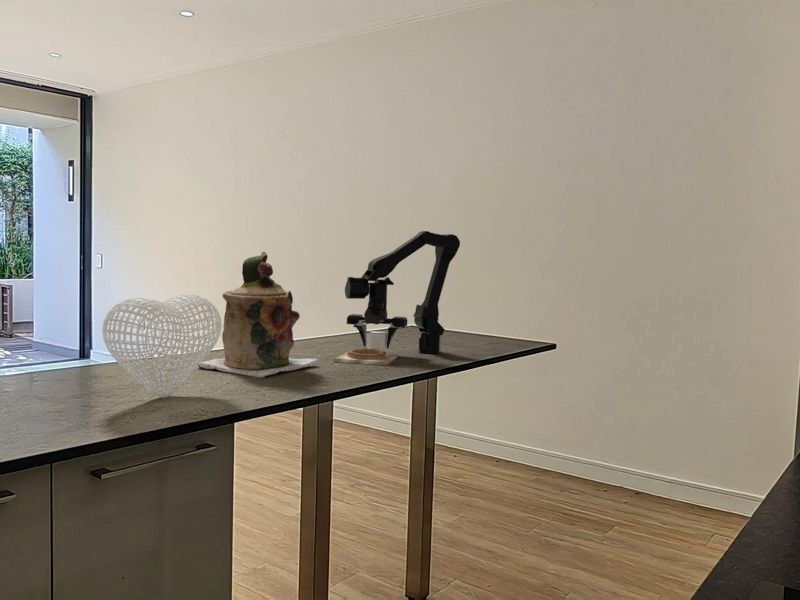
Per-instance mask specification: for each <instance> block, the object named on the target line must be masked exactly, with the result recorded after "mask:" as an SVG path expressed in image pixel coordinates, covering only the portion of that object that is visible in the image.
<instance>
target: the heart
mask: <svg viewBox="0 0 800 600" xmlns="http://www.w3.org/2000/svg"><path fill="white" fill-rule="evenodd" d="M192 306H193V307H192ZM199 307H200V309H199ZM130 308H131V309H130ZM186 308H187V309H186ZM136 309H137V311H135V310H136ZM181 310H182V311H181ZM146 311H147V312H146ZM121 313H122V315H120V314H121ZM126 314H127V316H125V315H126ZM190 314H191V315H190ZM201 314H202V316H203V318H202V316H201ZM132 315H134V317H132ZM185 315H186V316H185ZM196 316H198V318H196ZM138 317H139V318H138ZM118 318H120V319H118ZM156 318H157V319H156ZM191 318H192V319H191ZM130 320H131V321H130ZM145 322H146V325H145ZM112 326H113V327H112ZM122 326H123V328H122ZM152 326H153V327H152ZM170 326H171V327H170ZM185 327H186V328H185ZM190 327H191V328H190ZM128 328H130V330H129V331H128ZM122 329H123V330H122ZM133 329H136V332H135V333H134V332H133ZM144 329H145V332H144ZM140 330H141V331H140ZM157 331H158V334H159V335H158V334H157ZM200 331H202V332H201V333H202V334H201V333H200ZM205 331H207V333H206V332H205ZM140 332H141V333H140ZM196 332H197V334H196V335H195V333H196ZM221 332H222V318H221V315H220V311H219V310H218V309H217V307H216V306H215V305H214V304H213V303H212V301H210V300H208V299H207V298H204V297H202V296H199V295H196V294H182V295H181V294H180V295H176V296H174V297H171V298H168V299H166V300H165V301H162V302H160V301H158V300H156V299H152V298H151V299H150V298H145V297H136V298H128V299H124V300H123V301H121V302H118V303H117V304H114V306H113V307H112V308H111V309H109V311H108V312H107V314H106V316H105V318H104V320H103V324H102V337H103V341H104V345H105V346H106V348H107V350H108V352H109V354H110V355H111V356H112V358H113V359H114V360H115V361H116V362H117V363H118V364H119V366H120V367H122V368H123V369H124V370H125V371H126V372H128V373H129V374H130V375H131V376H132V377H134V378H135V379H136V380H137V381H138V382H139V383H140V384H141V385H142V386H143V387H144V388H145V389H147V390H148V392H149V393H150V392H151V394H152V395H154V396H156V397H158V398H162V399H164V398H168V397H170V396H172V395H173V394H174V393H176V392H177V391H178V390H179V389H180V387H182V385H183V384H184V383H185V382H186V380H187V379H188V378H189V377H190V375H191V374H193V372H194V371H195V370H196V368H198V367H199V366H198V365H199V364H200V363H201V362H203V361H204V360H205V358H206V357H207V356H208V355H209V354H211V352H212V350H213V349H214V347H215V346H216V344H217V342H218V341H219V338H220V337H221V334H222V333H221ZM178 333H179V334H178ZM190 334H191V335H190ZM128 335H129V340H127V336H128ZM122 336H123V340H122ZM134 336H135V340H133V337H134ZM164 336H165V337H164ZM169 336H170V337H169ZM140 337H141V340H140V339H139V338H140ZM155 340H157V343H158V344H156V341H155ZM202 340H203V342H202ZM150 341H152V343H150ZM173 341H174V343H173ZM191 341H192V343H191ZM197 341H198V342H197ZM168 343H169V345H168ZM117 344H118V345H117ZM122 345H123V347H122ZM127 345H130V348H128V346H127ZM176 345H177V346H176ZM185 345H186V346H185ZM134 346H136V348H134ZM141 346H142V347H141ZM195 347H196V348H195ZM159 349H161V350H160V351H159ZM194 349H195V350H194ZM169 351H170V353H169ZM179 351H180V353H179ZM168 353H169V354H168ZM130 354H131V355H130ZM156 354H157V356H156V357H155V355H156ZM189 355H190V356H189ZM172 357H173V358H172ZM176 357H177V359H176ZM149 358H152V359H149ZM181 358H183V359H181ZM173 364H174V365H173ZM179 364H180V365H179ZM141 367H142V368H141ZM153 369H154V370H153ZM166 370H167V371H166ZM170 370H172V372H170ZM154 374H156V376H155V375H154ZM170 375H171V377H169V376H170ZM150 376H151V377H150ZM164 382H165V383H164Z"/></svg>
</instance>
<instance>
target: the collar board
mask: <svg viewBox="0 0 800 600" xmlns="http://www.w3.org/2000/svg"><path fill="white" fill-rule="evenodd" d="M396 359H398V354H393V353H387V351H386V350H385V351H383V350H377V349H367V348H355V349H354V348H353V349H352V348H351V349H348V350H347V351H346V352H344V353H342V354H340V355H338V356H335V358H333V362H334V363H345V364H363V365H374V366H388V365H390V364H392V362H394V361H395V360H396Z"/></svg>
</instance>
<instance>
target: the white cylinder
mask: <svg viewBox="0 0 800 600" xmlns="http://www.w3.org/2000/svg"><path fill="white" fill-rule="evenodd" d="M387 338H388V331H380V330H371V331H366V341H367V342H366V349H377V350H383V351H385V352H386V349H387Z"/></svg>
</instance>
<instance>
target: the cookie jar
mask: <svg viewBox="0 0 800 600" xmlns="http://www.w3.org/2000/svg"><path fill="white" fill-rule="evenodd" d="M268 257H269V256H268V253H267V252H266V251H262V252H261V253H260V255H256V256H255V255H254V256H251V257H248V258H246V259H244V260H243V263H242V272H241V273H242V280H243V283H242V285H241V286H240V287H237V288H235V289H234V290H228V291H225V292H223V293H222V298H223V299H224V300H225V302H226V305H225V313H224V316H223V330H222V333H221V339H222V344H223V350H224V357H223V358H213V359H210V360H202V362H201V363H200V364H199V365H198V366H197V367H198V368H200V369H201V368H203V369H207V370H216V371H220V372H224V373H231V374H235V375H236V374H237V375H241V376H243V375H245V376H248V377H253V378H259V377H261V378H265V377H266V376H271V375H276V374H277V373H280V372H290V371H296V370H298V369H303V368H309V367H314V366H316V364H317V362H318V358H291V357H290V354H291V350H292V348H293V347H294V346H295V341H294V334H293V333H294V332H293V327H294V325H295V324H296V323H297V321H299V320H300V318H301V315H300V313H299V312H298V311H297V310H293V303H294V300H293V299H294V297H293V294H292V292H291V290H286V291H285V289H284V288H283V287H282V286H281V285H280V284H279V283H276V282H275V280H273V278H272V277H271V276H273V274H274V269H273V266H272V264H270V263H267V260H268Z"/></svg>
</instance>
